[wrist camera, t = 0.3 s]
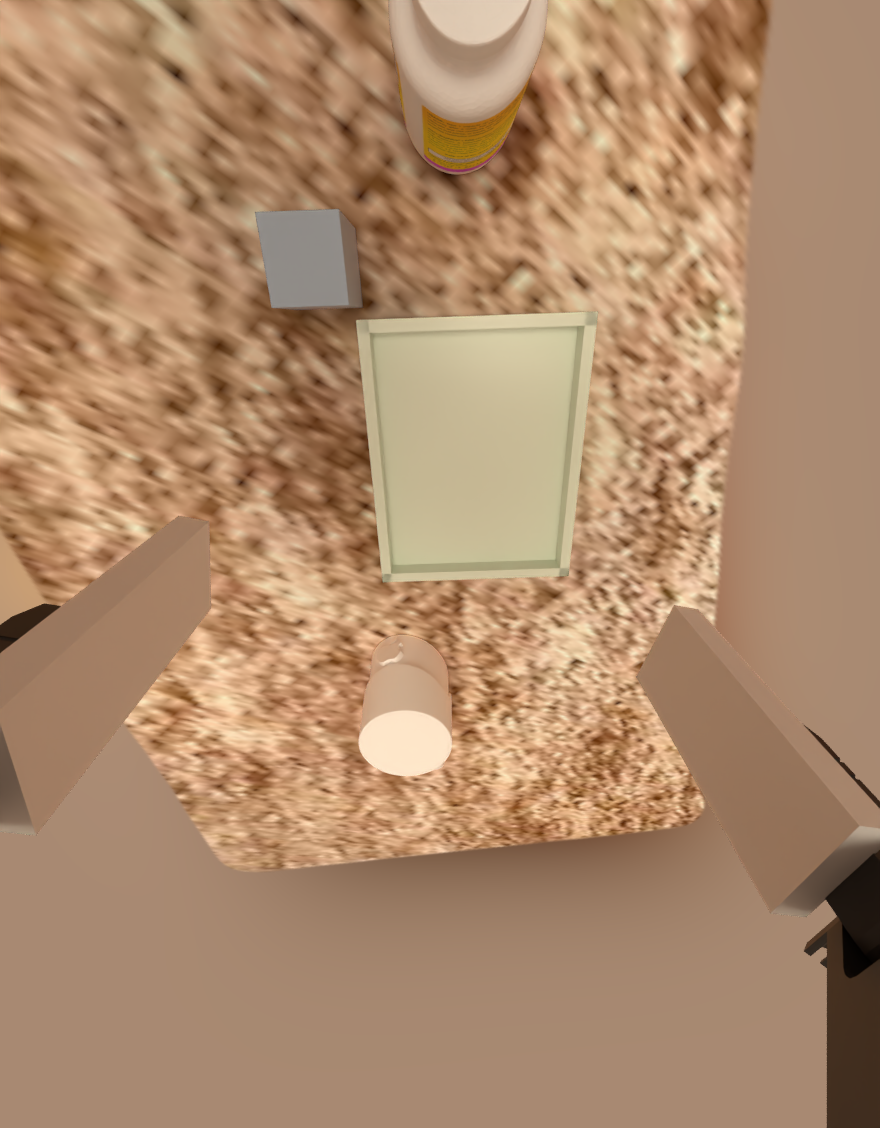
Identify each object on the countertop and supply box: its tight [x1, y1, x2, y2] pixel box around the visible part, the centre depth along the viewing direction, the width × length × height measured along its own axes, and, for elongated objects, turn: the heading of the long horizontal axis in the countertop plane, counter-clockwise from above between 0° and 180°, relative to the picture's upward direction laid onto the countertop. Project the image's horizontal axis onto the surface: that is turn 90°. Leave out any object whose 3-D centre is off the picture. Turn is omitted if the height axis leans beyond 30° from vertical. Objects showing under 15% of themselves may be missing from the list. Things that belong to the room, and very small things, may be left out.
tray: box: [356, 311, 598, 582], centre depth 36 cm, size 20×16×2 cm
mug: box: [359, 635, 452, 776], centre depth 44 cm, size 12×9×8 cm
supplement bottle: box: [388, 0, 548, 174], centre depth 22 cm, size 7×7×13 cm
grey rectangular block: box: [255, 209, 363, 310], centre depth 29 cm, size 4×4×6 cm
